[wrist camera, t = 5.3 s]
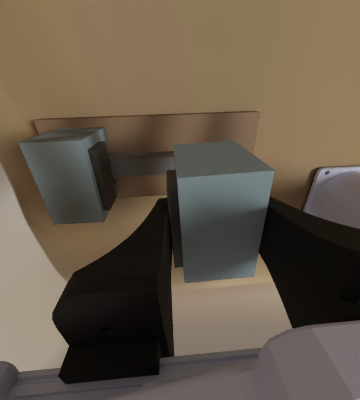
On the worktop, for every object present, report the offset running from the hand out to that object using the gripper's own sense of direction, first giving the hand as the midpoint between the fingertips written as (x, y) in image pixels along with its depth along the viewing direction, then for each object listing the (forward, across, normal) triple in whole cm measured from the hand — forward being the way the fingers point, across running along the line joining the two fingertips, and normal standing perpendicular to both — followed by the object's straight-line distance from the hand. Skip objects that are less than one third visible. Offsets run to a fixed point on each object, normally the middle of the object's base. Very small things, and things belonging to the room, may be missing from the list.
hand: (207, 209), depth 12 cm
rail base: (+10, +4, 0) cm, 11 cm away
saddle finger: (+3, 0, 0) cm, 3 cm away
